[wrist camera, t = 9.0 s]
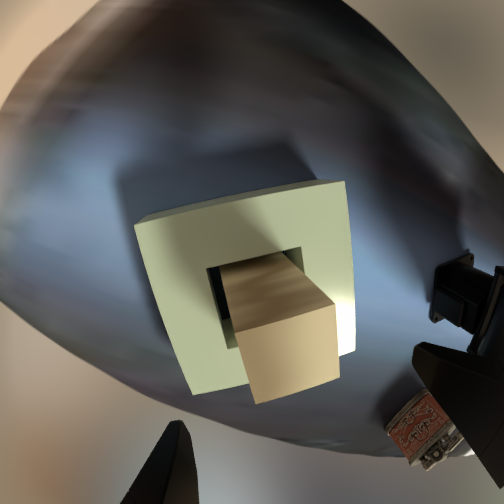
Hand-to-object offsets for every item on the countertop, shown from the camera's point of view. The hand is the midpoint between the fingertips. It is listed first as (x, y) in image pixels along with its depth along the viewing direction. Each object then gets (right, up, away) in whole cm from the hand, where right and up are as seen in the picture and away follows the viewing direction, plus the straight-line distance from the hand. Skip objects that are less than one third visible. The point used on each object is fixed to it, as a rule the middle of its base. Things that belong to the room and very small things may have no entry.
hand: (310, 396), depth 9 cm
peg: (-2, +3, +12) cm, 12 cm away
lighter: (+19, -17, +21) cm, 33 cm away
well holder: (-2, +3, +12) cm, 12 cm away
